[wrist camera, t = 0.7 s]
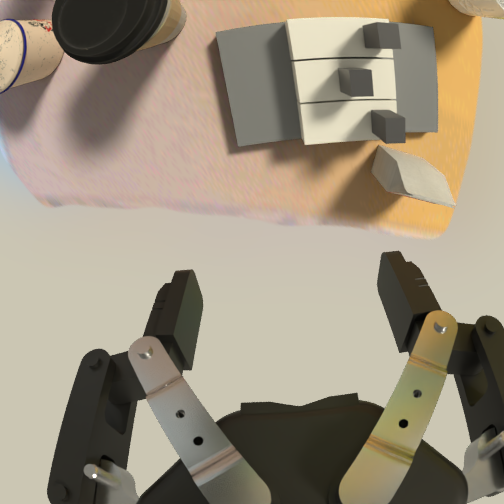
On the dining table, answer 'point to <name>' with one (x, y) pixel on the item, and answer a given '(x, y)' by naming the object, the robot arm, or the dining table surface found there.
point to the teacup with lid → (27, 51)
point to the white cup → (480, 7)
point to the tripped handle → (356, 82)
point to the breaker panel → (276, 88)
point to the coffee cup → (114, 27)
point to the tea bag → (410, 177)
